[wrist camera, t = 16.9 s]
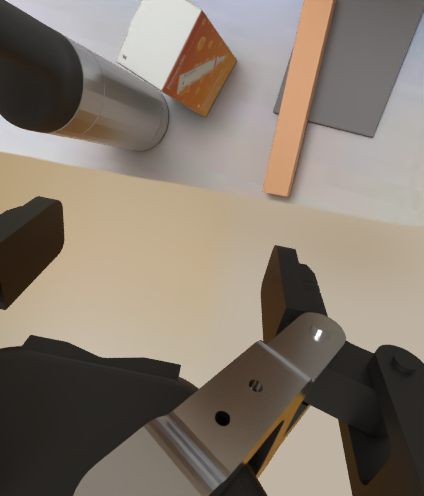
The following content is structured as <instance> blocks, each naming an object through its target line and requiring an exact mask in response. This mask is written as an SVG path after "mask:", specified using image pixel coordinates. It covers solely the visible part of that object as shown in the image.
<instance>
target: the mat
mask: <svg viewBox="0 0 424 496" xmlns="http://www.w3.org/2000/svg"><path fill="white" fill-rule="evenodd" d="M423 10H424V0H336V3H335V7H334V11H333V16H332V20H331V24H330V28H329V33H328V37H327V41H326V45H325V49H324V54H323V58H322V62H321V66H320V70H319V75H318V79H317V83H316V87H315V91H314V96H313V100H312V104H311V108H310V112H309V117H308V122H312V123H316V124H320V125H324V126H328V127H332V128H336V129H340V130H344V131H348V132H352V133H356V134H360V135H364V136H368V137H373V135H374V132H375V130H376V127H377V125H378V122H379V120H380V117H381V115H382V112H383V110H384V107H385V105H386V102H387V100H388V97H389V95H390V92H391V90H392V87H393V85H394V82H395V80H396V77H397V75H398V72H399V70H400V67H401V65H402V62H403V60H404V57H405V55H406V52H407V50H408V47H409V45H410V42H411V40H412V37H413V35H414V32H415V30H416V27H417V25H418V22H419V20H420V17H421V15H422V12H423ZM293 48H294V47H293ZM292 53H293V50H292ZM292 53H291V57H292ZM291 57H290V60H289V63H288V66H287V69H286V72H285V76H284V79H283V82H282V85H281V88H280V92H279V95H278V98H277V101H276V104H275V107H274V111H273V112H274V113H276V114H279V112H280V108H281V103H282V99H283V94H284V89H285V85H286V80H287V76H288V71H289V66H290V62H291Z"/></svg>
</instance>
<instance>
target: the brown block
mask: <svg viewBox="0 0 424 496" xmlns="http://www.w3.org/2000/svg"><path fill="white" fill-rule="evenodd" d="M335 3H336V0H304V2H303V6H302V11H301V16H300V20H299V25H298V29H297V34H296V39H295V43H294V48H293V53H292V57H291V62H290V66H289V71H288V76H287V80H286V85H285V89H284V94H283V99H282V103H281V108H280V112H279V117H278V122H277V126H276V131H275V135H274V140H273V145H272V149H271V154H270V158H269V163H268V168H267V172H266V177H265V181H264V186H263V191H262V192H266V193H271V194H276V195H281V196H286V197H288V196H290V192H291V188H292V184H293V180H294V176H295V171H296V167H297V163H298V159H299V155H300V150H301V146H302V142H303V138H304V134H305V129H306V125H307V121H308V117H309V112H310V108H311V104H312V100H313V96H314V91H315V87H316V83H317V79H318V75H319V70H320V66H321V62H322V58H323V54H324V49H325V45H326V41H327V37H328V33H329V28H330V24H331V20H332V16H333V11H334V7H335Z"/></svg>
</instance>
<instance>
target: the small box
mask: <svg viewBox="0 0 424 496" xmlns="http://www.w3.org/2000/svg"><path fill="white" fill-rule="evenodd" d="M116 62H117V63H118V64H120V65H122V66H123V67H125V68H126V69H128V70H129V71H131V72H132V73H134V74H135V75H137V76H138V77H140V78H141V79H143V80H144V81H146V82H148V83H149V84H151V85H152V86H154V87H155V88H157V89H158V90H160V91H162V92H163V93H165V94H167V95H168V96H170V97H171V98H173V99H175V100H176V101H178V102H180V103H181V104H183V105H185V106H186V107H188V108H190V109H191V110H193V111H195V112H197V113H198V114H200V115H202V116H204V117H206V116H207V114H208V112H209V110H210V108H211V106H212V104H213V102H214V101H215V99H216V97H217V95H218V93H219V91H220V90H221V88H222V86H223V84H224V83H225V81H226V79H227V77H228V75H229V74H230V72H231V70H232V69H233V67H234V65H235V63H236V62H237V60H236V58H235V57H234V55H233V54H232V52H231V51H230V49H229V48H228V47H227V45H226V44H225V42H224V41H223V39H222V38H221V37H220V35H219V34H218V32H217V31H216V29H215V28H214V26H213V25H212V24H211V22H210V21H209V19H208V18H207V16H206V15H205V13H204V12H203V11H202V9H200V8H198V7H197V6H195V5H193V4H192V3H190V2H188V1H187V0H142V1H141V3H140V5H139V8H138V10H137V12H136V14H135V16H134V18H133V20H132V22H131V24H130V27H129V30H128V32H127V35H126V38H125V40H124V43H123V45H122V47H121V50H120V52H119V54H118V57H117V59H116Z"/></svg>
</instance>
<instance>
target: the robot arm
mask: <svg viewBox="0 0 424 496" xmlns="http://www.w3.org/2000/svg"><path fill="white" fill-rule="evenodd" d="M0 114H1V115H2V116H3V117H4V118H5V119H6V120H7V121H8V122H10V123H11V124H13V125H15V126H17V127H19V128H22V129H26V130H30V131H35V132H41V133H47V134H52V135H58V136H63V137H69V138H74V139H79V140H84V141H89V142H94V143H99V144H104V145H110V146H115V147H119V148H124V149H130V150H135V151H144V150H148V149H150V148H152V147H154V146H155V145H156V144H158V142H159V141H160V140H161V139H162V137H163V136H164V134H165V132H166V129H167V125H168V108H167V104H166V102H165V99H164V97H163V96H162V94H161V93H160V92H159V91H158V90H157V89H156V88H155V87H153V86H151V85H149V84H148V83H146V82H144V81H143V80H141V79H139V78H138V77H136V76H134V75H132V74H131V73H129V72H127V71H125V70H124V69H122V68H120V67H118V66H117V65H115V64H113V63H112V62H110V61H108V60H106V59H105V58H103V57H101V56H99V55H98V54H96V53H94V52H92V51H91V50H89V49H87V48H85V47H84V46H82V45H80V44H78V43H76V42H75V41H73V40H71V39H69V38H68V37H66V36H64V35H62V34H61V33H59V32H57V31H55V30H54V29H52V28H50V27H48V26H46V25H45V24H43V23H41V22H40V21H38V20H37V19H35V18H33V17H32V16H30V15H28V14H27V13H25V12H23V11H22V10H20V9H18V8H17V7H15V6H13V5H12V4H10V3H8V2H7V1H5V0H0ZM63 244H64V223H63V207H62V203H61V202H60V201H59V200H54V199H49V198H44V197H40V196H38V197H35V198H34V199H32V200H31V201H29V202H28V203H27V204H25V205H24V206H20V207H17V208H13V209H10V210H7V211H5V212H4V213H2V214H1V215H0V309H3V310H6V309H7V308H8V307H9V306H10V305H11V304H12V303H13V302H14V301H15V300H16V299H17V298H18V297H19V296H20V294H21V293H22V292H23V291H24V290H25V289H26V288H27V287H28V286H29V285H30V284H31V283H32V282H33V281H34V280H35V279H36V278H37V276H38V275H39V274H40V273H41V272H42V271H43V270H44V269H45V268H46V267H47V266H48V265H49V264H50V263H51V262H52V261H53V260H54V259H55V257H57V256H58V254H59V253H60V252H61V250H62V248H63ZM317 284H318V283H317V280H316V277H315V274H314V273H313V272H312V270H310V268H309V267H308V266H307V265H305V264H300V263H299V261H298V258H297V254H296V250H295V249H292V248H286V247H281V246H277V245H275V246H274V248H273V251H272V254H271V257H270V260H269V263H268V266H267V269H266V273H265V275H264V279H263V282H262V287H261V307H262V325H263V341H261V340H260V341H257V342H256V343H254V344H253V345H252V346H251V347H250V348H248V349H247V350H246V351H245V352H244V353H242V354H241V355H240V356H239V357H238V358H236V359H235V360H234V361H233V362H231V363H230V364H229V365H228V366H227V367H225V368H224V369H223V370H222V371H220V372H219V373H218V374H217V375H216V376H214V377H213V378H212V379H211V380H210V381H208V382H207V383H206V384H205V385H204V386H202V387H201V388H200V389H198V388H197V387H195V386H194V385H193V384H191V383H190V382H188V381H186V380H184V379H183V378H181V377H179V372H180V367H181V365H179V364H174V363H169V362H164V361H159V360H154V359H149V358H102V357H98V356H96V355H94V354H92V353H90V352H88V351H85V350H83V349H81V348H79V347H77V346H75V345H72V344H70V343H68V342H64V341H59V340H53V339H49V338H43V337H38V336H33V335H30V336H29V338H28V339H27V340H26V341H25V343H24V344H23V345H22V346H16V347H7V348H2V349H0V496H267V494H266V492H265V491H264V489H263V487H262V486H261V484H260V482H259V481H258V477H259V476H260V475H261V473H262V471H264V469H265V468H266V466H267V465H268V463H269V461H270V460H271V459H272V457H273V455H274V454H275V452H276V451H277V449H278V448H279V446H280V445H281V444H282V442H283V441H284V439H285V438H286V437H287V436H288V434H289V433H290V432H291V430H292V429H293V428H294V426H295V425H296V424H297V422H298V421H299V420H300V419H301V417H302V416H303V415H304V413H305V412H306V411H307V409H308V408H309V407H310V405H311V406H314V407H315V408H318V409H320V410H322V411H324V412H325V413H327V414H329V415H331V416H333V417H335V418H337V419H338V421H339V426H340V432H341V437H342V442H343V448H344V453H345V458H346V464H347V469H348V474H349V480H350V485H351V490H352V495H353V496H424V363H422V361H421V360H420V359H418V358H417V357H416V356H414V355H413V354H412V353H410V352H409V351H407V350H405V349H403V348H400V347H397V346H394V345H382V346H380V347H379V348H378V349H377V350H376V352H375V353H371V352H369V351H367V350H364V349H362V348H359V347H358V346H355V345H353V344H351V343H349V342H348V341H346V336H345V333H344V331H343V330H342V328H341V327H340V326H339V325H338V324H337V323H336V322H335V321H333V320H332V319H331V318H329V317H328V316H327V313H326V309H325V306H324V303H323V299H322V297H321V293H320V290H319V286H318V285H317Z"/></svg>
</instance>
